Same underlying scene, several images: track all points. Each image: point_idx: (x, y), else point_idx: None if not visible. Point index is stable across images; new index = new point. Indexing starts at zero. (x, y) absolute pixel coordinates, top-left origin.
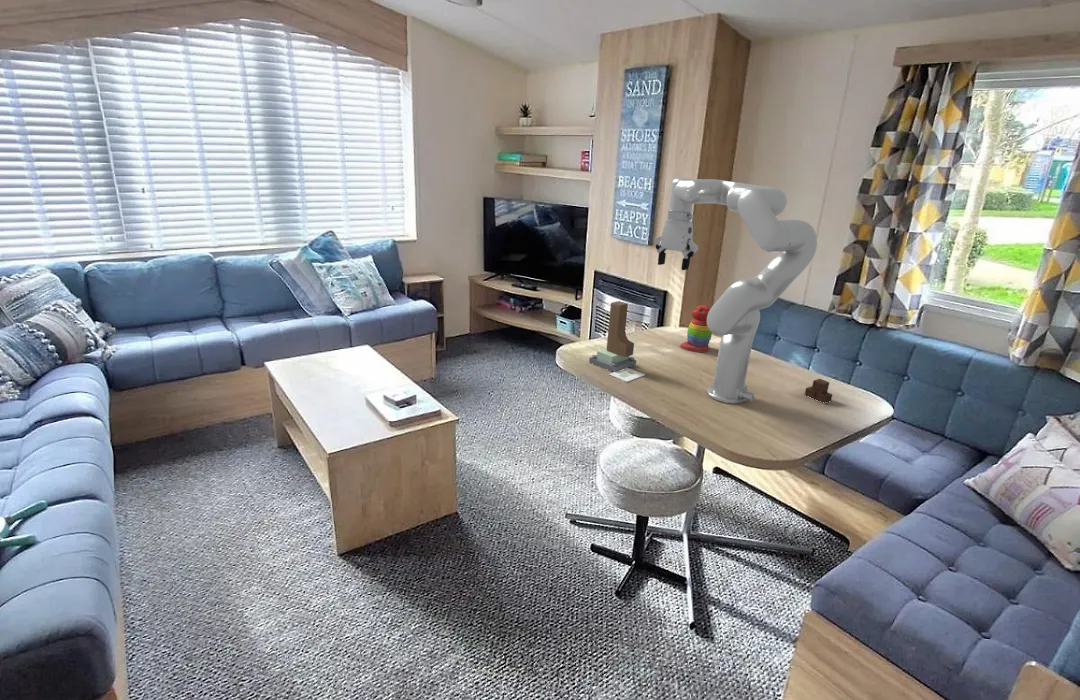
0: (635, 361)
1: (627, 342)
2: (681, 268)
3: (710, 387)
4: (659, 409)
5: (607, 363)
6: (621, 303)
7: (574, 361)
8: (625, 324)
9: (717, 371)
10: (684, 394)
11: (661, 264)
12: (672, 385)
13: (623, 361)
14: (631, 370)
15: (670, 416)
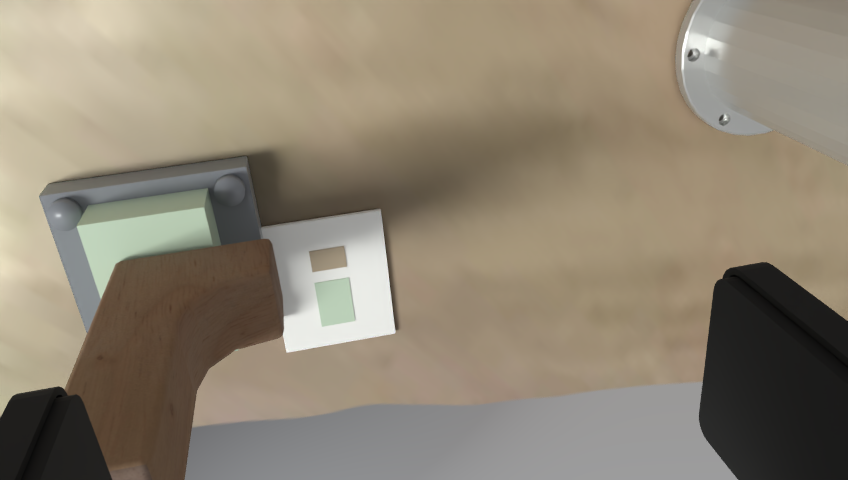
0: (247, 171)
1: (249, 311)
2: (711, 443)
3: (691, 71)
4: (634, 372)
5: None
6: None
7: None
8: (176, 355)
9: (800, 142)
10: (625, 201)
11: (97, 476)
12: (536, 177)
13: (229, 243)
14: (304, 234)
15: (688, 373)
